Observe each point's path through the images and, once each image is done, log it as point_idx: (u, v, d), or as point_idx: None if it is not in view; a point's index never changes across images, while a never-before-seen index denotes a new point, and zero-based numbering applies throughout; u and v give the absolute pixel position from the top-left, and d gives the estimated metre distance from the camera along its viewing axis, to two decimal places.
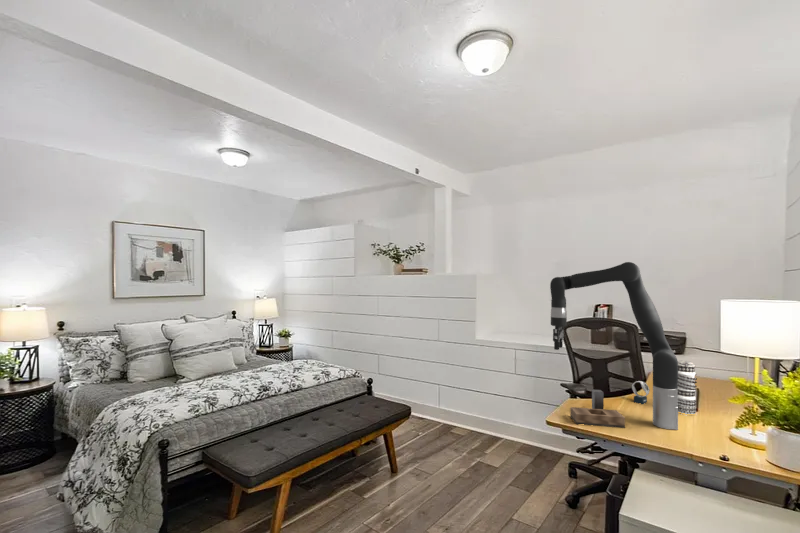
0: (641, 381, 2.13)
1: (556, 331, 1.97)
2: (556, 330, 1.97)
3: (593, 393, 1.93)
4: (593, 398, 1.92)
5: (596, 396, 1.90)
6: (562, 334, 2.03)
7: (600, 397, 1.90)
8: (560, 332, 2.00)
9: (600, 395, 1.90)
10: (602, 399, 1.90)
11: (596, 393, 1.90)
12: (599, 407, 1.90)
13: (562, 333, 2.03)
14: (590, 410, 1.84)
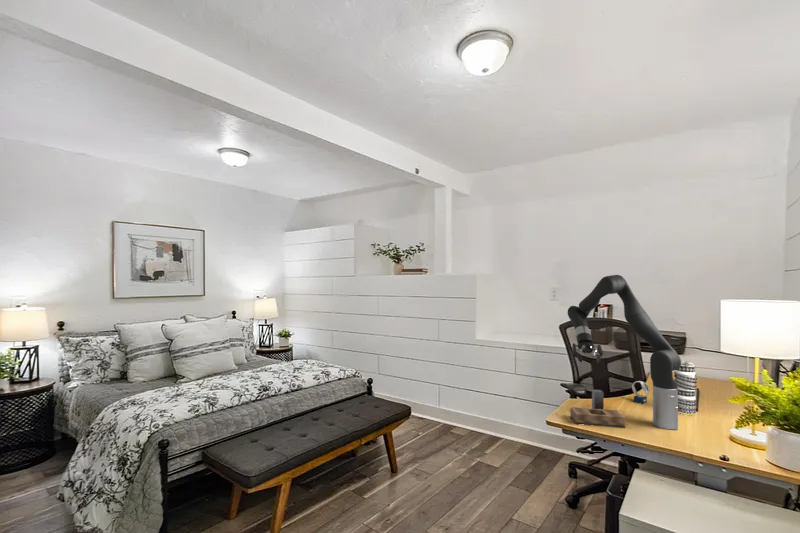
0: (641, 381, 2.13)
1: (572, 345, 2.11)
2: (572, 345, 2.12)
3: (593, 393, 1.93)
4: (593, 398, 1.92)
5: (596, 396, 1.90)
6: (591, 348, 2.08)
7: (600, 397, 1.90)
8: (582, 346, 2.10)
9: (600, 395, 1.90)
10: (602, 399, 1.90)
11: (596, 393, 1.90)
12: (599, 407, 1.90)
13: (590, 347, 2.08)
14: (590, 410, 1.84)
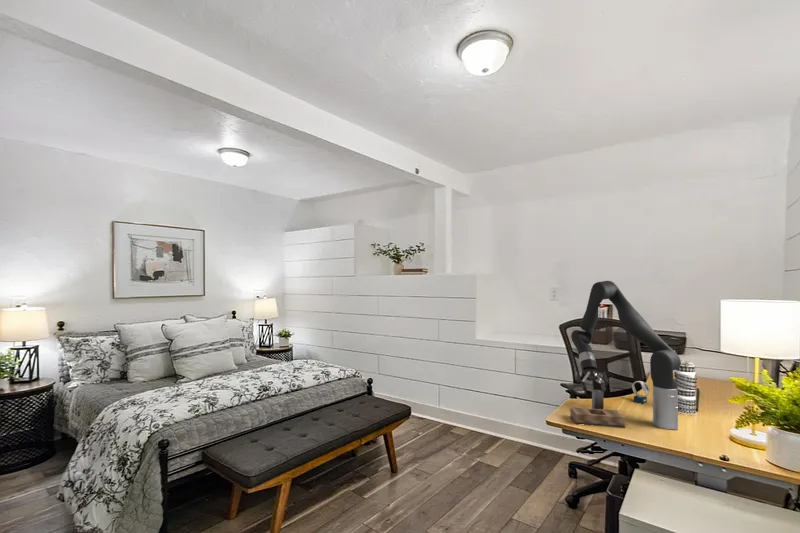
0: (641, 381, 2.13)
1: (576, 373, 2.04)
2: (576, 372, 2.05)
3: (593, 393, 1.93)
4: (593, 398, 1.92)
5: (596, 396, 1.90)
6: (596, 376, 2.00)
7: (600, 397, 1.90)
8: (586, 373, 2.02)
9: (600, 395, 1.90)
10: (602, 399, 1.90)
11: (596, 393, 1.90)
12: (599, 407, 1.90)
13: (595, 375, 2.01)
14: (590, 410, 1.84)
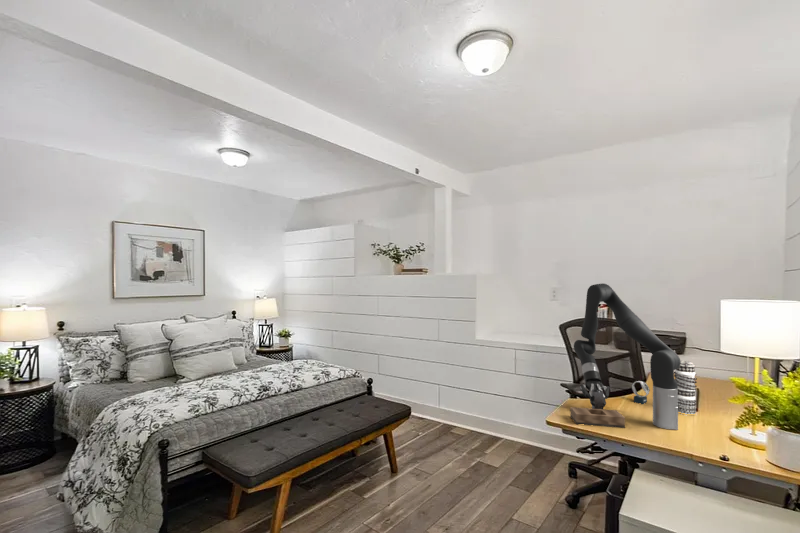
0: (641, 381, 2.13)
1: (581, 387, 1.97)
2: (580, 386, 1.98)
3: (593, 393, 1.93)
4: None
5: (596, 396, 1.90)
6: (598, 389, 1.94)
7: (600, 397, 1.90)
8: (590, 386, 1.96)
9: (600, 395, 1.90)
10: (602, 399, 1.90)
11: (596, 393, 1.90)
12: (599, 407, 1.90)
13: (597, 387, 1.95)
14: (590, 410, 1.84)
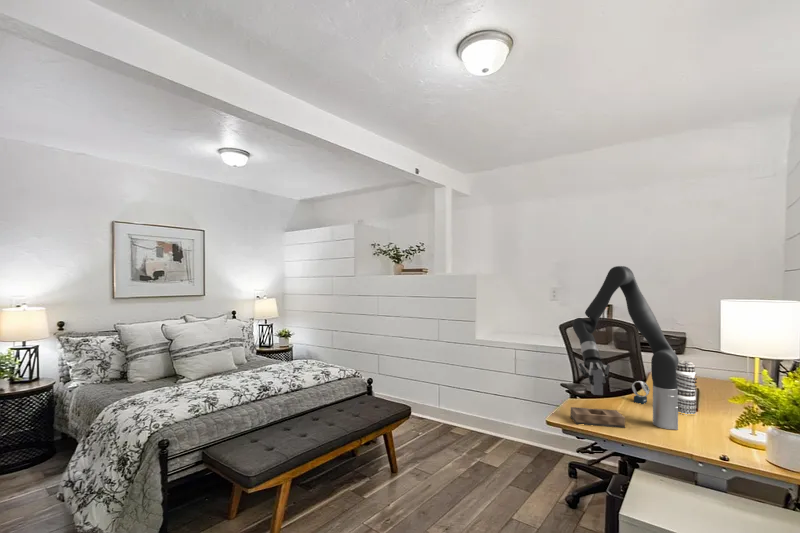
0: (641, 381, 2.13)
1: (579, 366, 1.88)
2: (579, 365, 1.89)
3: (592, 372, 1.84)
4: None
5: (595, 375, 1.81)
6: (598, 367, 1.85)
7: (599, 376, 1.81)
8: (589, 365, 1.87)
9: (599, 373, 1.81)
10: (601, 378, 1.81)
11: (595, 371, 1.81)
12: (598, 386, 1.81)
13: (597, 366, 1.86)
14: (590, 410, 1.84)
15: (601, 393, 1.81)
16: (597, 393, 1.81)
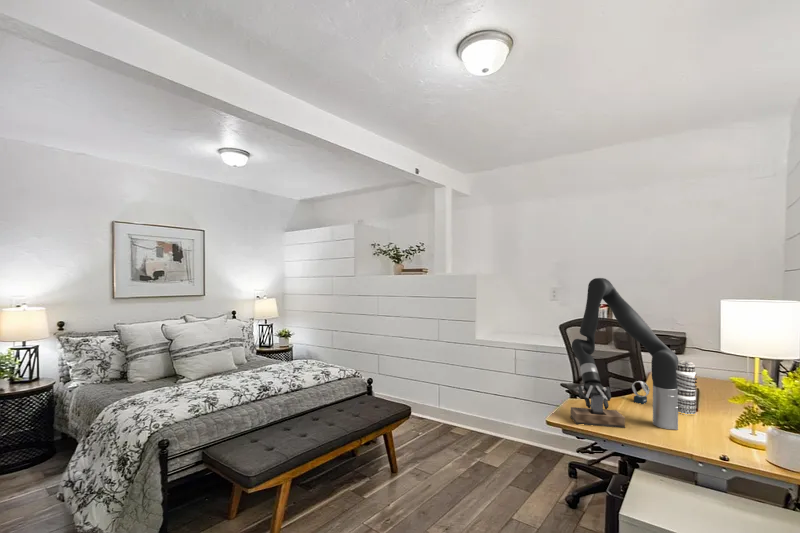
0: (641, 381, 2.13)
1: (578, 388, 1.86)
2: (578, 387, 1.87)
3: (591, 398, 1.81)
4: (592, 403, 1.81)
5: (595, 401, 1.79)
6: (599, 391, 1.83)
7: (599, 402, 1.79)
8: (588, 388, 1.85)
9: (599, 400, 1.79)
10: (601, 404, 1.78)
11: (595, 398, 1.79)
12: (598, 412, 1.78)
13: (597, 389, 1.83)
14: (590, 410, 1.84)
15: None
16: None
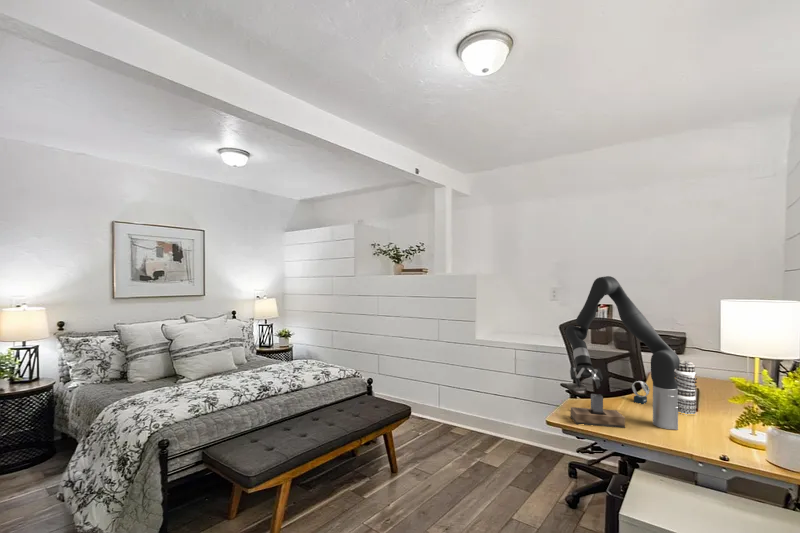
0: (641, 381, 2.13)
1: (570, 369, 2.00)
2: (570, 368, 2.00)
3: (592, 398, 1.81)
4: (592, 403, 1.81)
5: (595, 401, 1.79)
6: (590, 373, 1.96)
7: (599, 402, 1.79)
8: (580, 370, 1.98)
9: (599, 400, 1.79)
10: (601, 404, 1.78)
11: (595, 398, 1.79)
12: (598, 413, 1.78)
13: (589, 371, 1.96)
14: (590, 410, 1.84)
15: None
16: None
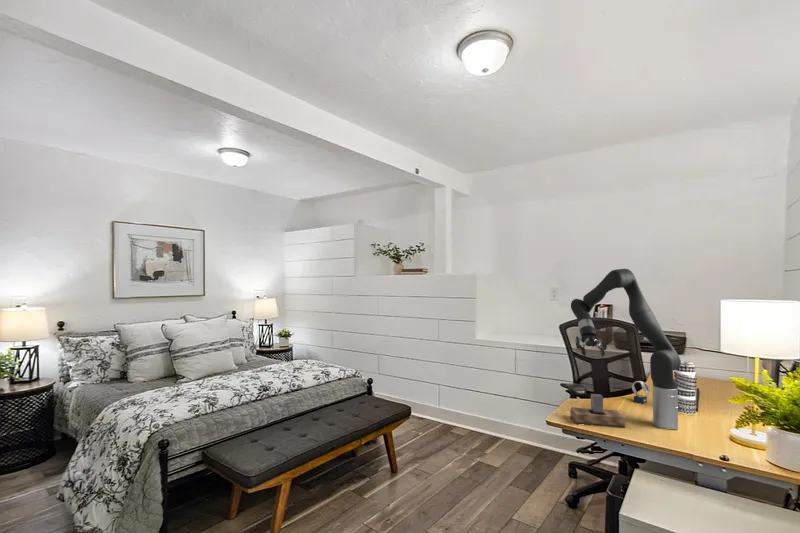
0: (641, 381, 2.13)
1: (576, 339, 2.07)
2: (576, 338, 2.08)
3: (592, 398, 1.81)
4: (592, 403, 1.81)
5: (595, 401, 1.79)
6: (595, 342, 2.03)
7: (599, 402, 1.79)
8: (585, 339, 2.05)
9: (599, 400, 1.79)
10: (601, 404, 1.78)
11: (595, 398, 1.79)
12: (598, 413, 1.78)
13: (594, 341, 2.04)
14: (590, 410, 1.84)
15: None
16: None
